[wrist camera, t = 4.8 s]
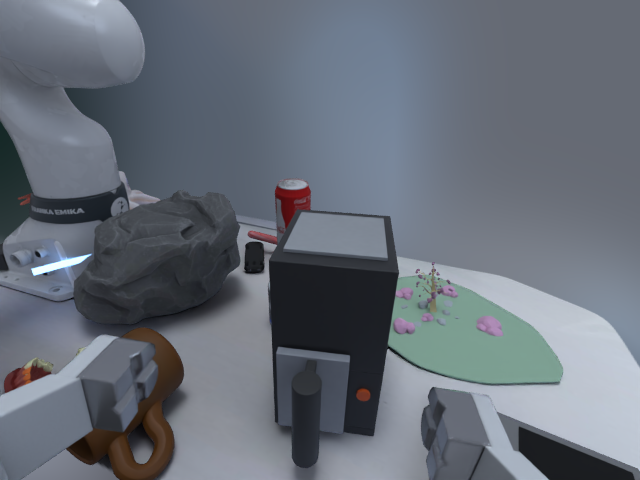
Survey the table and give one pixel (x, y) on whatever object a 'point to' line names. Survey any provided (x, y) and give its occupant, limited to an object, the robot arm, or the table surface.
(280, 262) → the coffee maker
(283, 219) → the beverage can
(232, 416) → the table surface
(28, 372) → the dentures
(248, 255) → the toy car
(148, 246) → the rock
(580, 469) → the electronic device
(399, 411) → the table surface
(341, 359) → the drawer
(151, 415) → the mug
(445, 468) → the robot arm
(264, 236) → the candy cane
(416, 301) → the plant
